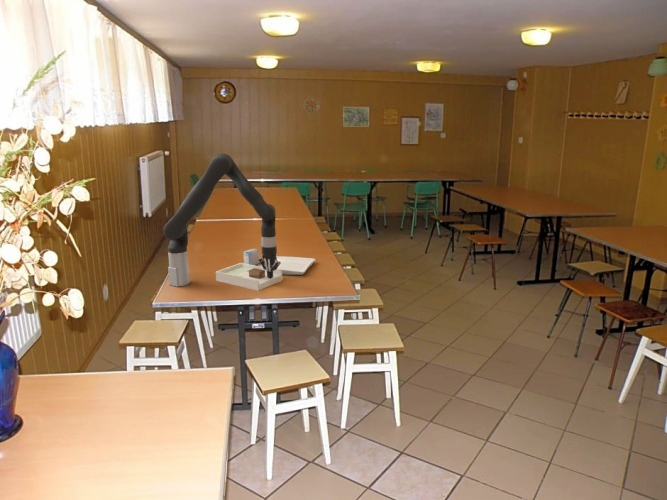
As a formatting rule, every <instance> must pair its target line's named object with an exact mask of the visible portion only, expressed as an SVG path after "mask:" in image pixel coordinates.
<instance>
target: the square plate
mask: <svg viewBox="0 0 667 500" xmlns="http://www.w3.org/2000/svg"><path fill="white" fill-rule="evenodd" d="M276 257H277V260H278V262H279V261H280V262H281V263H280V265H279V266H278V268H277V269H276V270H279V271H282V275H286V276H301V275H304V274H305V273H306V271H307V270H308V269H309V268H310V267H311V266H312V265H313V264H314V263H315V262H316V260H317V259H316V258H311V257H310V258H309V257H299V256H298V257H297V256H284V255H283V256H282V255H281V256H277V255H276ZM274 265H275V264H274ZM259 266H260V267H262V265H261V264H260V265H259ZM264 266H265V265H264Z"/></svg>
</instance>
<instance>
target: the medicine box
mask: <svg viewBox="0 0 667 500" xmlns="http://www.w3.org/2000/svg"><path fill="white" fill-rule="evenodd" d="M259 252H260V251H259V249H257V248H251V249H248V250H244V251H243V253H242V254H243V263H245V264H250V265H255V266H258V265H259V264H260V262H259V259H260V255H259V254H260V253H259Z"/></svg>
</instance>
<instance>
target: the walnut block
mask: <svg viewBox="0 0 667 500" xmlns="http://www.w3.org/2000/svg"><path fill="white" fill-rule="evenodd" d="M249 277H252V278H257V279H261V278H263V277H265V270H261V269H256V268H254V269H251V270H249Z"/></svg>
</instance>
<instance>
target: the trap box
mask: <svg viewBox="0 0 667 500" xmlns="http://www.w3.org/2000/svg"><path fill="white" fill-rule="evenodd" d="M254 268H256V269H261V270H265V269H263V267H260V265H250V264H245V263H244V262H239V263H236V264H234V265H230V266H228V267H225V268H222V269H219V270H216V271H215V281H216V282H220V283H225V284H228V285H233V286H236V287H241V288H245V289H250V290H253V291H257V292H259V291H261V290H264V289H265V288H268V287H270V286H273V285H275V284H277V283H280V282H282V281H283V279H284V278H283V274H282V271H279V270H274V271H273V278H271V279H270V278H268V277H267V271H266V270H265V277H263V278H261V279H257V278H252V277H249V270H251V269H254Z"/></svg>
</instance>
